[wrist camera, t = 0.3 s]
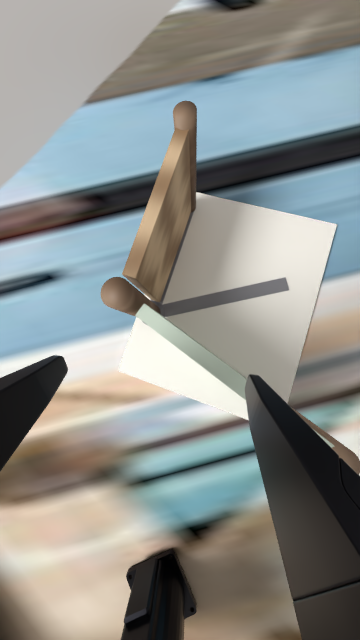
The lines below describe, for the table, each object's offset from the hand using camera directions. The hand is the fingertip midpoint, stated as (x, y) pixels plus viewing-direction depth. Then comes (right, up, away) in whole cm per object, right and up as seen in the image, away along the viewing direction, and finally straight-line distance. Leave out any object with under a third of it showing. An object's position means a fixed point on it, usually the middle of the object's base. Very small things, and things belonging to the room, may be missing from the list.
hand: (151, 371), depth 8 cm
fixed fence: (0, +11, +16) cm, 20 cm away
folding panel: (+6, -3, +14) cm, 16 cm away
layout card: (+8, +5, +15) cm, 18 cm away
